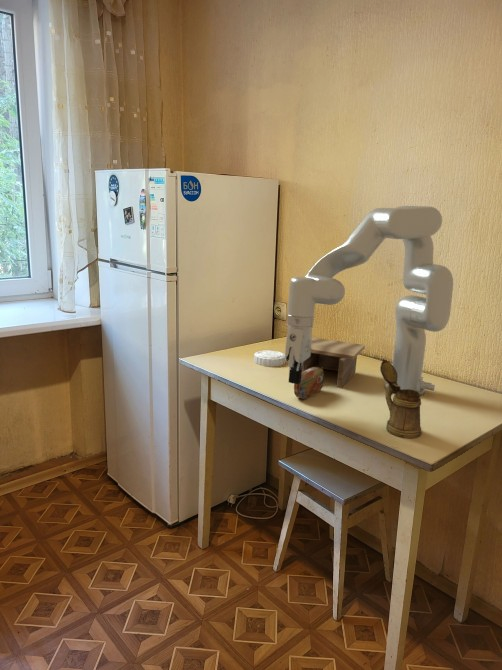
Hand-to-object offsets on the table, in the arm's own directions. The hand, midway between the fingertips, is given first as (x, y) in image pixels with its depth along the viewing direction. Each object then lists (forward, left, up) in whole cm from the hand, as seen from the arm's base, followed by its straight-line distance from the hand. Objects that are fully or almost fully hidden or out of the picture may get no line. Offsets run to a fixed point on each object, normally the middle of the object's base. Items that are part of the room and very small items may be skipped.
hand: (294, 382), depth 149 cm
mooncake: (+24, -39, -8) cm, 47 cm away
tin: (0, -13, -8) cm, 15 cm away
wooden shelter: (0, -34, -8) cm, 35 cm away
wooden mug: (-30, -1, -8) cm, 31 cm away
